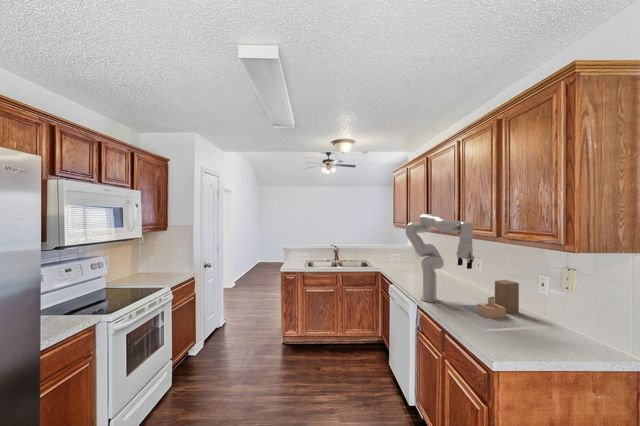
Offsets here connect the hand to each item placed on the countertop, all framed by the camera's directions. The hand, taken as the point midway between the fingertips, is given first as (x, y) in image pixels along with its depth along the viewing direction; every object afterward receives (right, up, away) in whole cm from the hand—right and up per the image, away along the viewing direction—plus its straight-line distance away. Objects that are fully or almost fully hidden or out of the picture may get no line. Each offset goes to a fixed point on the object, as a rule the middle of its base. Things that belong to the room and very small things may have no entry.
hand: (464, 266), depth 201 cm
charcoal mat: (+11, -29, -4) cm, 31 cm away
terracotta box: (+12, -28, -11) cm, 32 cm away
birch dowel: (+12, -27, -11) cm, 31 cm away
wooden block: (+25, -29, -3) cm, 39 cm away
